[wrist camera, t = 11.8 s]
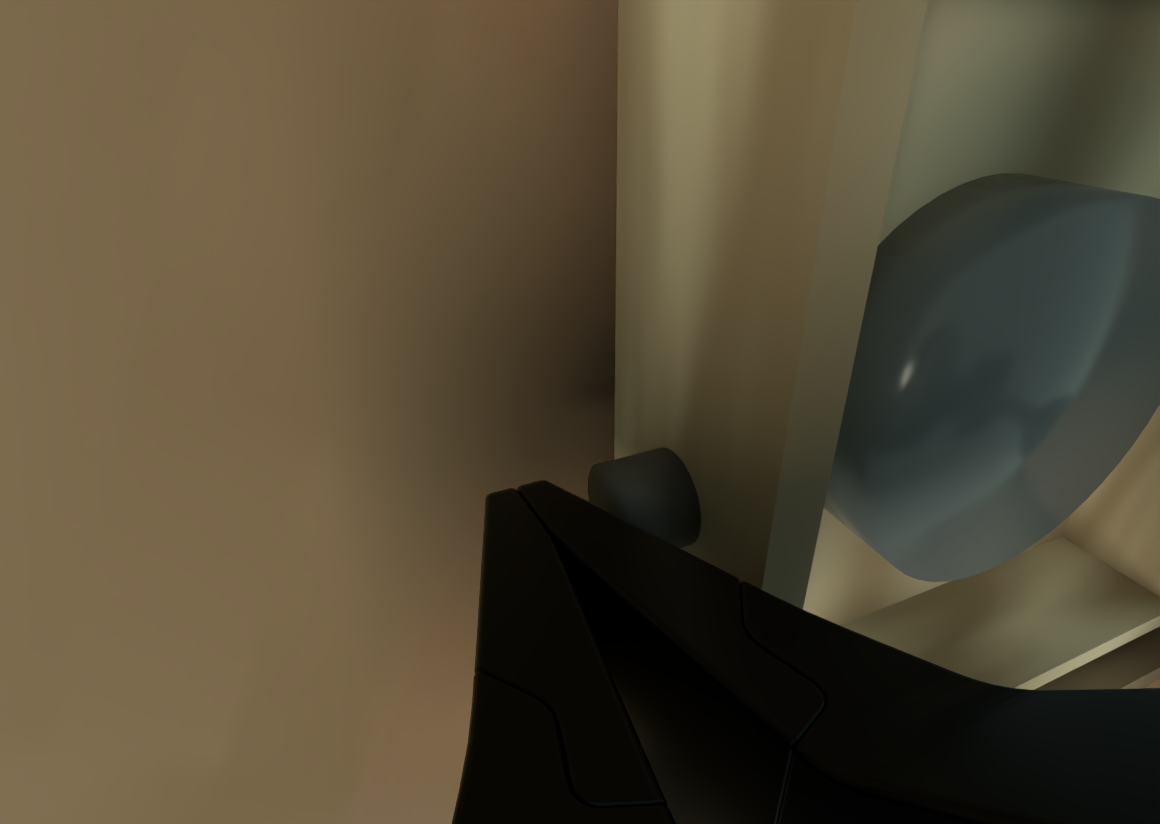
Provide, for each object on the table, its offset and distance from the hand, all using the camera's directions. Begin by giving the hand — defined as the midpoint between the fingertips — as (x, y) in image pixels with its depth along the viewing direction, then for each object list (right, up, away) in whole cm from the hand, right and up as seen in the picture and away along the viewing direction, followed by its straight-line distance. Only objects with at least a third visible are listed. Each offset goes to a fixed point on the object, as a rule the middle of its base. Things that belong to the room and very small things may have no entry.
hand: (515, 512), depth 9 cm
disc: (+8, +2, +3) cm, 9 cm away
